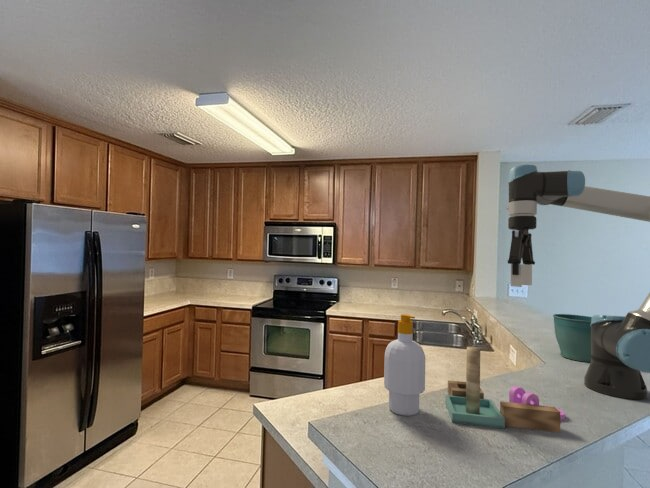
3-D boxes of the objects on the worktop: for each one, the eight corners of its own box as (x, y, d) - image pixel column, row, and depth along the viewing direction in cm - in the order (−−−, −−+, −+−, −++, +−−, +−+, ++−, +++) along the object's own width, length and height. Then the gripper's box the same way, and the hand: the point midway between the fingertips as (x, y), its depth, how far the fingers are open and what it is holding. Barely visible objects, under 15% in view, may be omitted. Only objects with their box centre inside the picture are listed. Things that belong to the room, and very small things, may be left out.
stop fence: (554, 426, 83) (554, 406, 83) (560, 432, 80) (560, 412, 80) (500, 420, 85) (500, 401, 86) (503, 425, 82) (503, 406, 83)
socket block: (476, 395, 101) (476, 383, 101) (483, 406, 93) (483, 393, 93) (447, 392, 103) (447, 380, 103) (452, 403, 95) (452, 390, 95)
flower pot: (603, 357, 148) (603, 317, 149) (609, 367, 133) (609, 322, 134) (552, 350, 158) (552, 312, 159) (553, 359, 143) (553, 317, 144)
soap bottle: (400, 422, 82) (403, 319, 84) (375, 405, 92) (377, 312, 93) (433, 414, 87) (435, 317, 88) (405, 399, 96) (407, 311, 97)
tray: (491, 408, 92) (491, 399, 92) (504, 428, 81) (504, 419, 81) (445, 403, 95) (445, 394, 95) (452, 422, 83) (452, 413, 83)
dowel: (468, 408, 90) (469, 345, 91) (481, 412, 88) (482, 348, 89) (463, 412, 88) (464, 347, 88) (477, 416, 86) (478, 350, 86)
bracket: (526, 423, 84) (526, 394, 85) (509, 413, 90) (509, 386, 90) (570, 420, 87) (570, 391, 87) (551, 410, 92) (551, 383, 93)
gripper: (518, 221, 119) (518, 283, 118) (497, 212, 100) (496, 286, 100) (544, 220, 114) (543, 285, 113) (526, 210, 96) (526, 288, 95)
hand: (521, 285), depth 106 cm, fingers open, 13 cm apart
